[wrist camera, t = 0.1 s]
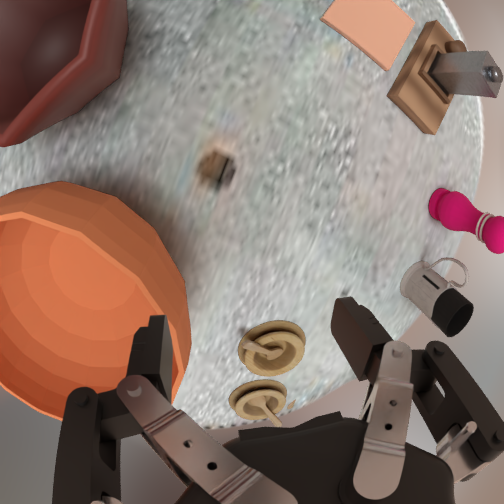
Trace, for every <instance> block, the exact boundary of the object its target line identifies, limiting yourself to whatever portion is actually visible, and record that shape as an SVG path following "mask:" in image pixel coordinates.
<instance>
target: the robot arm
mask: <svg viewBox="0 0 504 504" xmlns="http://www.w3.org/2000/svg"><path fill="white" fill-rule="evenodd" d="M331 332H332V335H333V337H334V338H335V340H336V342H337V343H338V345H339V347H340V349H341V350H342V352H343V354H344V356H345V357H346V359H347V361H348V362H349V364H350V366H351V368H352V369H353V371H354V373H355V375H356V376H357V378H358V380H359V381H363V380H366V379H368V380H369V382H370V383H369V385H368V388H367V391H366V395H365V399H364V402H363V406H362V409H361V412H360V415H359V418H358V419H355V418H346V417H344V418H343V417H342V415H341V413H340V411H338V412H334V413H330V414H326V415H322V416H318V417H315V418H313V419H311V420H309V421H307V422H305V423H303V424H300V425H298V426H296V427H293V428H280V427H260V428H253V429H245V430H239V437H238V438H235V439H232V440H230V441H228V442H227V443H225V444H223V445H221V444H219V443H218V442H217V441H216V440H215V439H213V438H212V437H211V436H210V435H209V434H208V433H206V431H205V430H203V429H202V428H201V427H200V426H199V425H198V424H197V423H196V422H195V421H194V420H193V419H191V418H190V417H189V416H188V415H187V414H186V413H185V412H184V411H182V410H176V409H175V408H174V407H173V406H172V405H171V402H172V363H173V345H172V338H171V334H170V329H169V324H168V319H167V315H150V318H149V323H148V327H140V328H139V329H138V330H137V331H136V333H135V334H134V337H133V342H132V347H131V352H130V357H129V362H128V367H127V373H126V377H125V378H123V379H122V380H121V381H120V382H119V383H118V385H117V388H115V389H113V390H110V391H106V392H102V393H96V392H95V391H94V390H93V389H92V388H89V387H79V388H76V389H74V390H73V391H72V392H71V393H70V394H69V395H68V397H67V401H66V405H65V410H64V415H63V420H62V426H61V431H60V437H59V443H58V450H57V457H56V465H55V474H54V484H53V498H52V504H123V503H122V502H121V485H120V445H121V439H122V438H125V437H129V436H133V435H137V434H141V436H142V437H143V438H144V439H145V441H146V442H147V443H148V444H149V445H150V446H151V448H152V449H153V450H154V451H155V452H156V453H157V455H158V456H159V457H160V458H161V459H162V460H163V461H164V463H165V464H166V465H167V466H168V467H169V469H170V470H171V471H172V472H173V473H174V474H175V475H176V476H177V478H178V479H179V480H180V481H181V482H182V483H183V484H184V485H185V486H186V487H187V489H186V490H185V491H184V493H183V494H182V495H181V496H180V498H179V499H178V500H177V501H176V503H175V504H455V500H454V484H455V483H457V482H459V481H462V482H463V481H467V480H469V479H471V478H472V477H473V476H474V475H476V474H477V473H478V472H480V471H481V470H482V469H483V468H485V467H486V466H487V465H488V464H490V463H491V462H492V461H493V460H494V459H495V458H497V457H498V456H499V455H500V454H501V453H502V452H503V451H504V422H503V421H502V419H501V418H500V416H499V415H498V413H497V412H496V410H495V409H494V407H493V406H492V404H491V403H490V402H489V400H488V398H487V397H486V396H485V394H484V393H483V391H482V390H481V389H480V387H479V386H478V385H477V383H476V382H475V381H474V379H473V378H472V377H471V375H470V374H469V372H468V371H467V370H466V369H465V367H464V366H463V365H462V363H461V362H460V361H459V359H458V358H457V357H456V356H455V354H454V353H453V352H452V351H451V349H450V348H449V347H448V346H447V345H446V344H444V343H443V342H440V341H431V342H429V343H428V344H427V346H426V348H425V350H411V349H410V347H409V346H408V345H407V344H405V343H403V342H401V341H394V340H393V339H392V338H391V336H390V335H389V334H388V333H387V331H386V330H385V329H384V327H383V326H382V325H381V324H380V323H379V321H378V320H377V319H376V318H375V316H374V315H373V314H372V312H371V311H370V310H369V309H367V308H366V307H364V306H362V305H358V304H357V302H356V301H355V300H354V298H353V297H344V298H337V299H336V301H335V304H334V310H333V315H332V320H331ZM436 381H438V382H439V384H440V385H441V386H442V388H443V390H444V392H445V398H444V397H443V395H442V394H441V392H440V391H439V389H438V387H437V386H436V384H435V383H436ZM412 400H413V401H414V403H415V405H416V407H417V408H418V410H419V412H420V414H421V416H422V417H423V419H424V421H425V423H426V425H427V426H428V428H429V430H430V432H431V434H432V435H433V437H434V439H435V441H436V443H437V446H436V453H437V455H436V456H435V455H433V454H431V453H429V452H426V451H424V450H422V449H420V448H418V447H415V446H413V445H411V444H409V443H407V442H405V441H406V436H407V430H408V424H409V417H410V410H411V403H412Z"/></svg>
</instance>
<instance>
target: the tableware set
mask: <svg viewBox="0 0 504 504" xmlns="http://www.w3.org/2000/svg"><path fill="white" fill-rule="evenodd" d="M305 341H306V339H305V335H304V332H303V331H302V329H301V328H300V327H299V326H298V325H296V324H294V323H292V322H289V321H283V320H276V321H269V322H266V323H263V324H260V325H258V326H256V327H254V328H253V329H251V330H250V331H249V332H248V333H246V335H245V336H244V337H243V338H242V340H241V341H240V343H239V347H238V355H239V358H240V360H241V361H242V363H243V364H245V365H246V367H247V368H248V369H249V370H250V371H251V372H252V373H254V374H257V375H260V376H276V375H280V374H283V373H285V372H287V371H289V370H291V369H293V368H294V367H295V366H296V365H297V364H298V363H299V362H300V361H301V359H302V357H303V355H304V351H305V348H304V346H305ZM258 388H260V389H258ZM264 388H267V389H264ZM269 389H272V390H269ZM251 390H252V391H251ZM248 391H250V392H248ZM247 392H248V393H247ZM246 393H247V394H246ZM245 394H246V395H245ZM286 395H287V390H286V388H285V386H284V385H283V384H282V383H280V382H278V381H274V380H268V379H263V380H255V381H251V382H248V383H245V384H243V385H241V386H239V387H238V388H236V389H235V390H234V391H233V392H232V393H231V394H230V397H229V404H230V406H231V408H232V409H233V410H235V412H236V414H237V415H238V416H240V417H242V418H245V419H249V420H259V419H264V418H268V417H269V418H270V420H271V421H272V422H273V424H274V425H275V426H276V427H280V426H281V425H282V422H281V421H280V420H279V419H278V418H277V416H276V415H275V414H276V413H278V412H279V411H280V410H282V408H283V407H284V405H285V403H286ZM295 400H296V399H295ZM295 400H294V401H293V402H292V403H290V404H289V405H288V407H287V408H288V409H290V408H292V407H293V405H294V403H295Z"/></svg>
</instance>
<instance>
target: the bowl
mask: <svg viewBox="0 0 504 504" xmlns="http://www.w3.org/2000/svg"><path fill="white" fill-rule="evenodd" d="M150 315H167V319H168V324H169V329H170V334H171V338H172V345H173V363H172V402H171V405H172V404H173V401H174V399H175V396H176V394H177V391H178V389H179V386H180V384H181V381H182V379H183V376H184V374H185V371H186V368H187V365H188V361H189V355H190V350H191V344H192V342H191V328H190V319H189V312H188V305H187V297H186V289H185V281H184V279H183V278H182V276H181V274H180V272H179V270H178V269H177V267H176V265H175V264H174V262H173V260H172V258H171V257H170V255H169V253H168V252H167V250H166V248H165V246H164V245H163V243H162V241H161V239H160V238H159V236H158V234H157V232H156V231H155V229H154V228H153V227H152V226H151V225H150V224H148V223H147V222H146V221H145V220H143V219H142V218H141V217H140V216H139V215H137V214H136V213H135V212H134V211H133V210H131V209H130V208H129V207H128V206H127V205H125V204H124V203H123V202H122V201H121V200H119V199H118V198H117V197H115V196H112V195H109V194H106V193H102V192H99V191H96V190H93V189H90V188H86V187H83V186H80V185H77V184H73V183H69V182H63V181H57V182H52V183H46V184H41V185H36V186H31V187H26V188H21V189H17V190H15V191H12V192H10V193H8V194H6V195H4V196H1V197H0V385H1V386H2V387H3V388H4V389H5V390H6V391H8V392H9V393H11V394H12V395H14V396H15V397H16V398H18V399H19V400H21V401H22V402H24V403H26V404H27V405H29V406H30V407H32V408H33V409H35V410H36V411H38V412H40V413H43V414H45V415H48V416H50V417H53V418H56V419H58V420H61V421H62V420H63V415H64V410H65V405H66V401H67V397H68V395H69V394H70V393H71V392H72V391H73V390H74V389H76V388H79V387H89V388H92V389H93V390H94V391H95V392H96V393H102V392H106V391H110V390H113V389H115V388H117V385H118V383H119V382H120V381H121V380H122V379H123V378H125V377H126V373H127V367H128V362H129V357H130V352H131V347H132V342H133V337H134V334H135V333H136V331H137V330H138V329H139V328H140V327H148V323H149V318H150Z"/></svg>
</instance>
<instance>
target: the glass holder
mask: <svg viewBox="0 0 504 504" xmlns="http://www.w3.org/2000/svg"><path fill="white" fill-rule="evenodd" d="M443 260H451V261H454V262H456V263H457V264H459V265H460V266H461V267H462V268H463V269H464V271H465V275H466V278H465V283H464V284H463V285H459V284H457V283H456V282H454V281H449V282H447V281H446V280H445V279H444V278H442V277H441V276H440V275H439V274H437V273H436V272H435V271H434V270H432V269H431V268H432V267H433V266H435V265H436V264H437V263H439V262H441V261H443ZM468 279H469V275H468V270H467V268H466V266H465V265H464V264H463V263H461V262H460V261H458V260H456V259H453V258H441V259H440V260H438V261H437V262H435V263H434V264H432V265H431V266H430V265H429V264H428V263H427V262H425V261H420V262H417V263H415V264H413V265H412V266H411V267H410V268H409V269H408V270H407V271H406V273H405V274H404V276H403V278H402V280H401V284H400V291H401V294H402V295H403V296H404V297H406V298H409V299H410V300H411V301H412V302H413V303H414V304H415V305H416V306H417V307H418V308H419V309H420V310H421V311H422V312H423V313H424V314H425V315H426V316H427V317H428V318H429V319H430V320H431V321H432V322H433V323H434V324H435V326H436V327H438V328H439V329H441V331H442V332H443V333H444V334H445V335H446V336H447V337H453V336H455V335H456V334H458V333H459V332H460V331H461V330H462V329H463V328H464V327H465V326H466V325H467V323H468V322H469V320H470V318H471V316H472V313H473V308H474V307H473V304H472V303H471V302H470V301H468V300H467V299H466V298H465V297H464V296H463V295H461V294H460V293H459V292H458V291H457V289H456V288H455V287H453V286H452V285H451V283H452V284H453V285H455V286H456V287H460V288H461V287H464V286H465V285H466V284H467V282H468Z"/></svg>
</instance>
